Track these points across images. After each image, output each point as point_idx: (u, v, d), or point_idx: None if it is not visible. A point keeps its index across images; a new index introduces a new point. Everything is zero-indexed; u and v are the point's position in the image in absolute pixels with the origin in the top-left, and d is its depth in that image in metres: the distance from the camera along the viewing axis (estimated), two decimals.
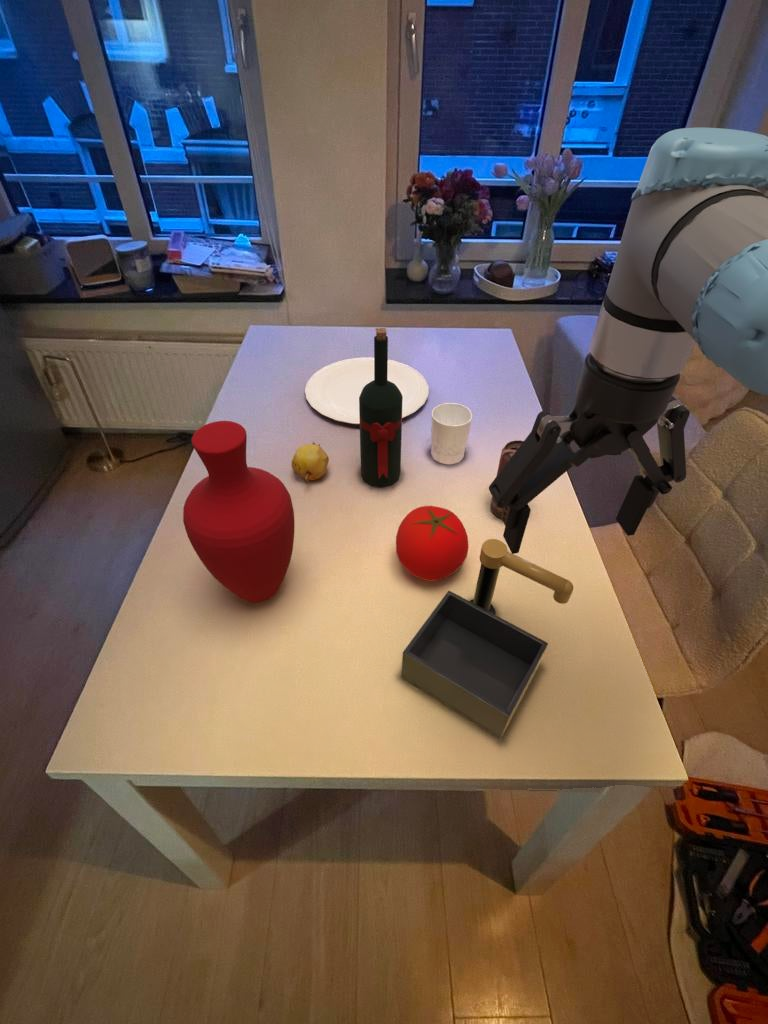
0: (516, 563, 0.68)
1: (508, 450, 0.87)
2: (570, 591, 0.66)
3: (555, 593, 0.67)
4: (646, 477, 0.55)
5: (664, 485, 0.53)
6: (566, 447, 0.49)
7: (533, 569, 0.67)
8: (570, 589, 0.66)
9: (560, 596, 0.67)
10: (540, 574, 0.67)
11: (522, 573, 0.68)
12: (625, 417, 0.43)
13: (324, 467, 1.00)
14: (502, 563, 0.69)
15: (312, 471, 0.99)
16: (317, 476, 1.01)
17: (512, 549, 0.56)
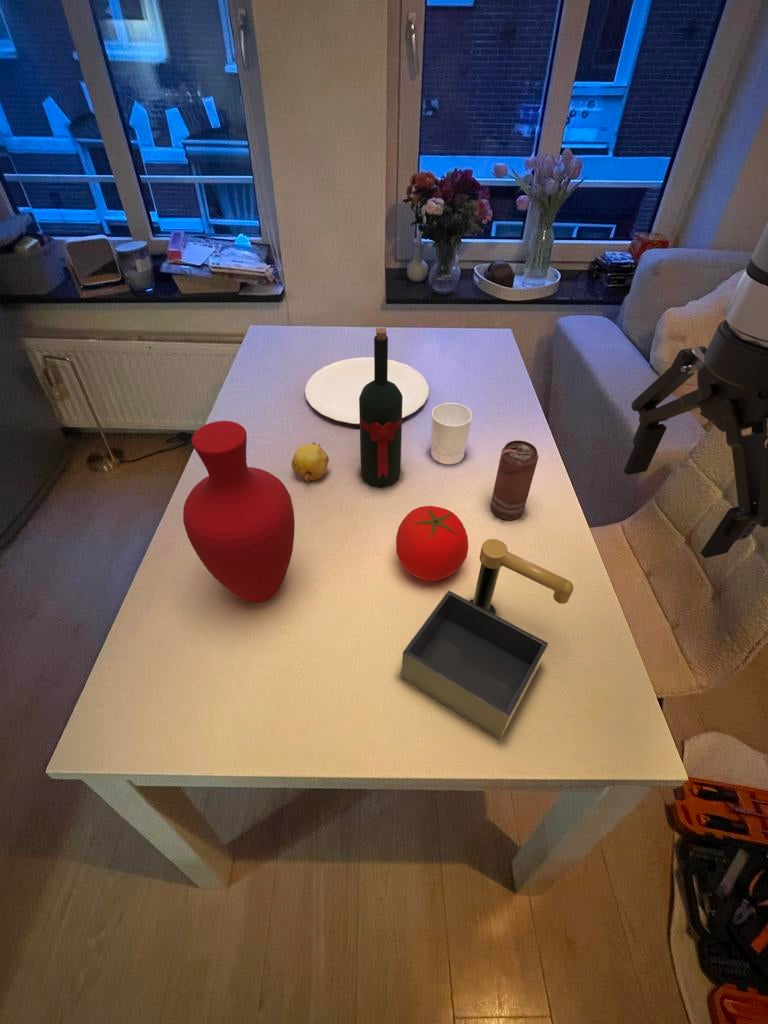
0: (516, 563, 0.68)
1: (508, 450, 0.87)
2: (570, 591, 0.66)
3: (555, 593, 0.67)
4: None
5: (744, 512, 0.49)
6: None
7: (533, 569, 0.67)
8: (570, 589, 0.66)
9: (560, 596, 0.67)
10: (540, 574, 0.67)
11: (522, 573, 0.68)
12: (706, 359, 0.47)
13: (324, 467, 1.00)
14: (502, 563, 0.69)
15: (312, 471, 0.99)
16: (317, 476, 1.01)
17: (626, 467, 0.64)
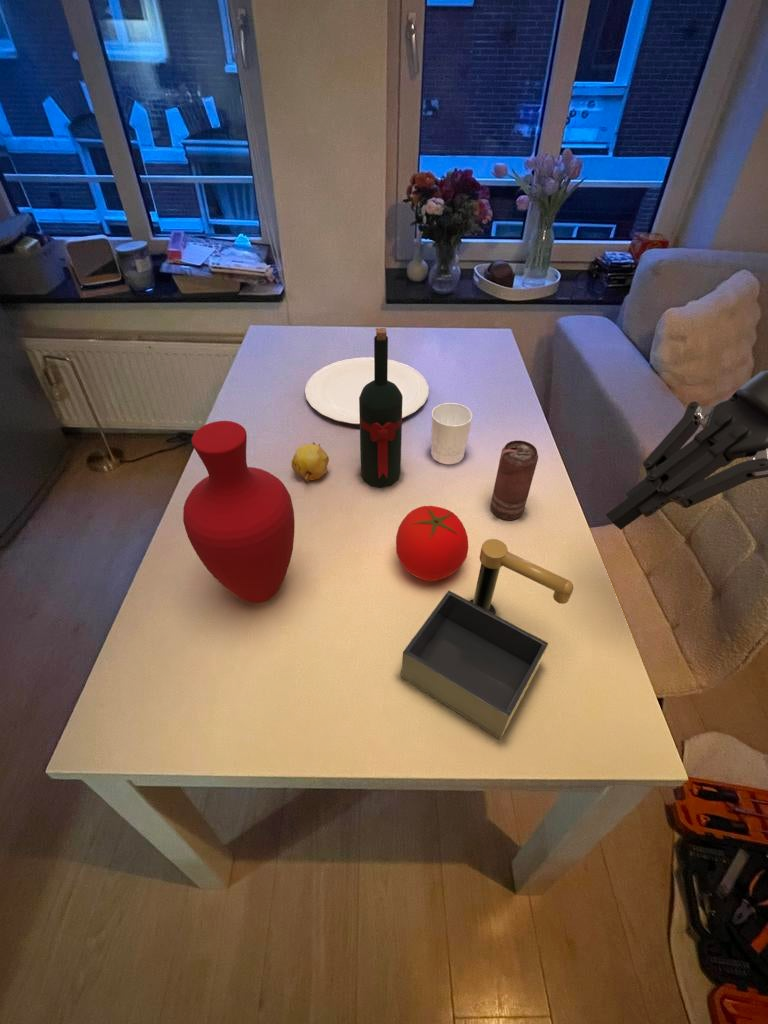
0: (516, 563, 0.68)
1: (508, 450, 0.87)
2: (570, 591, 0.66)
3: (555, 593, 0.67)
4: None
5: (665, 489, 0.63)
6: None
7: (533, 569, 0.67)
8: (570, 589, 0.66)
9: (560, 596, 0.67)
10: (540, 574, 0.67)
11: (522, 573, 0.68)
12: (747, 388, 0.59)
13: (324, 467, 1.00)
14: (502, 563, 0.69)
15: (312, 471, 0.99)
16: (317, 476, 1.01)
17: (609, 512, 0.67)
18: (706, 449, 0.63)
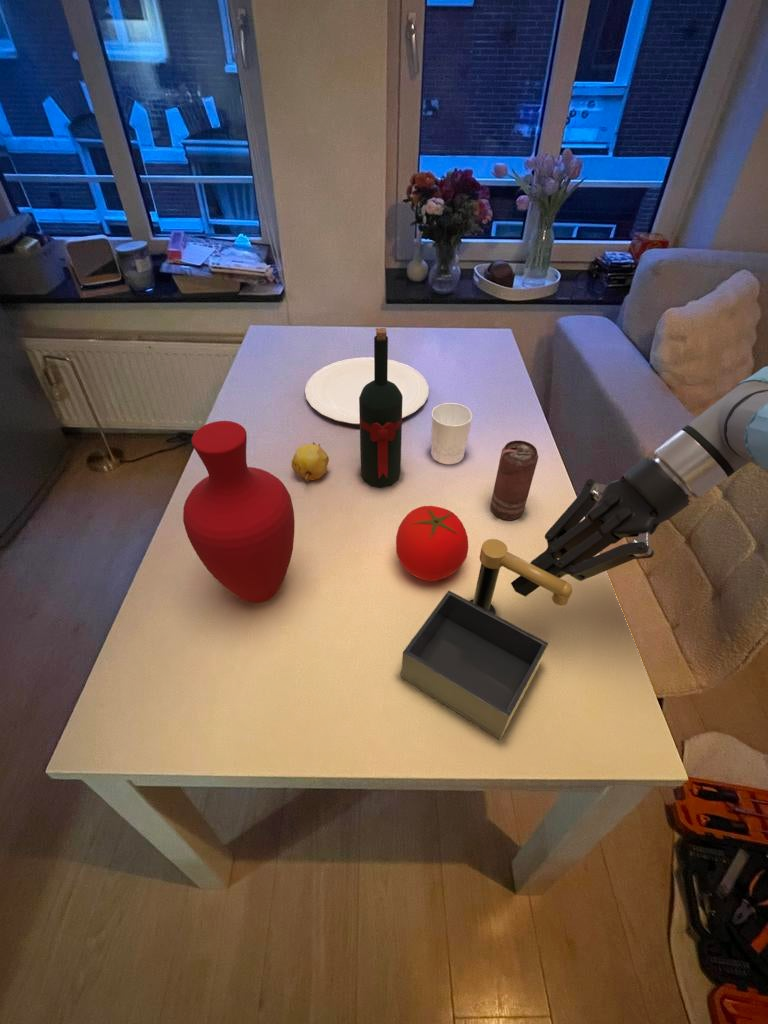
0: (515, 564, 0.68)
1: (508, 450, 0.87)
2: (569, 593, 0.65)
3: (554, 595, 0.67)
4: None
5: (560, 563, 0.67)
6: None
7: (532, 570, 0.67)
8: (569, 591, 0.65)
9: (559, 598, 0.66)
10: (539, 575, 0.67)
11: (521, 574, 0.68)
12: (630, 474, 0.63)
13: (324, 467, 1.00)
14: (501, 564, 0.69)
15: (312, 471, 0.99)
16: (317, 476, 1.01)
17: (514, 581, 0.71)
18: (599, 525, 0.67)
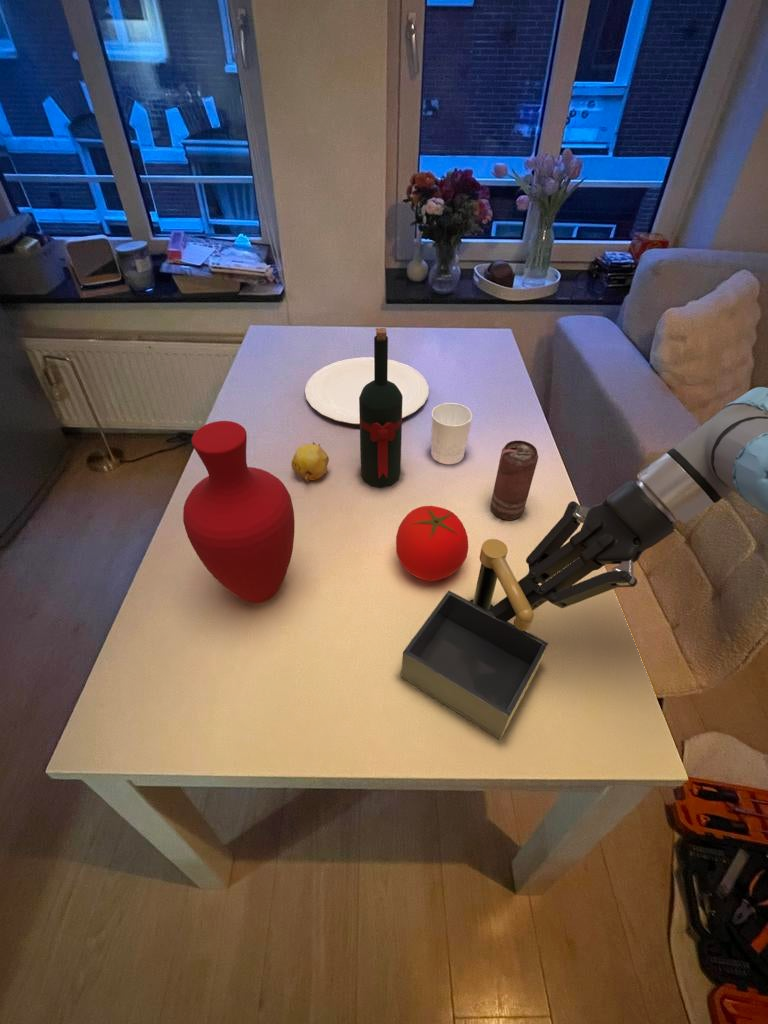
0: (500, 570, 0.67)
1: (508, 450, 0.87)
2: (525, 619, 0.63)
3: (516, 615, 0.65)
4: None
5: (541, 590, 0.65)
6: None
7: (509, 582, 0.66)
8: (525, 617, 0.63)
9: (516, 619, 0.64)
10: (511, 589, 0.65)
11: (500, 581, 0.67)
12: (613, 498, 0.60)
13: (324, 467, 1.00)
14: (491, 564, 0.69)
15: (312, 471, 0.99)
16: (317, 476, 1.01)
17: (494, 606, 0.69)
18: (582, 550, 0.65)
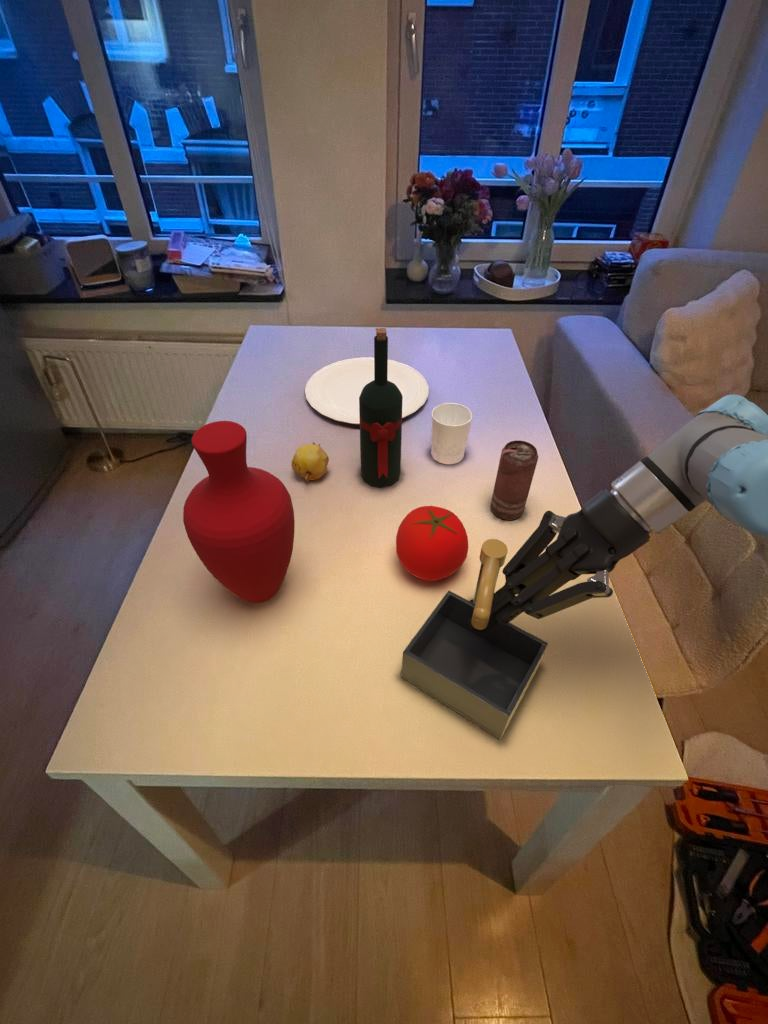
0: (485, 567, 0.68)
1: (508, 450, 0.87)
2: (477, 616, 0.63)
3: None
4: None
5: (517, 601, 0.63)
6: None
7: (485, 580, 0.66)
8: (478, 614, 0.63)
9: None
10: (482, 587, 0.65)
11: None
12: (587, 507, 0.59)
13: (324, 467, 1.00)
14: (484, 561, 0.70)
15: (312, 471, 0.99)
16: (317, 476, 1.01)
17: (471, 618, 0.67)
18: (558, 561, 0.64)
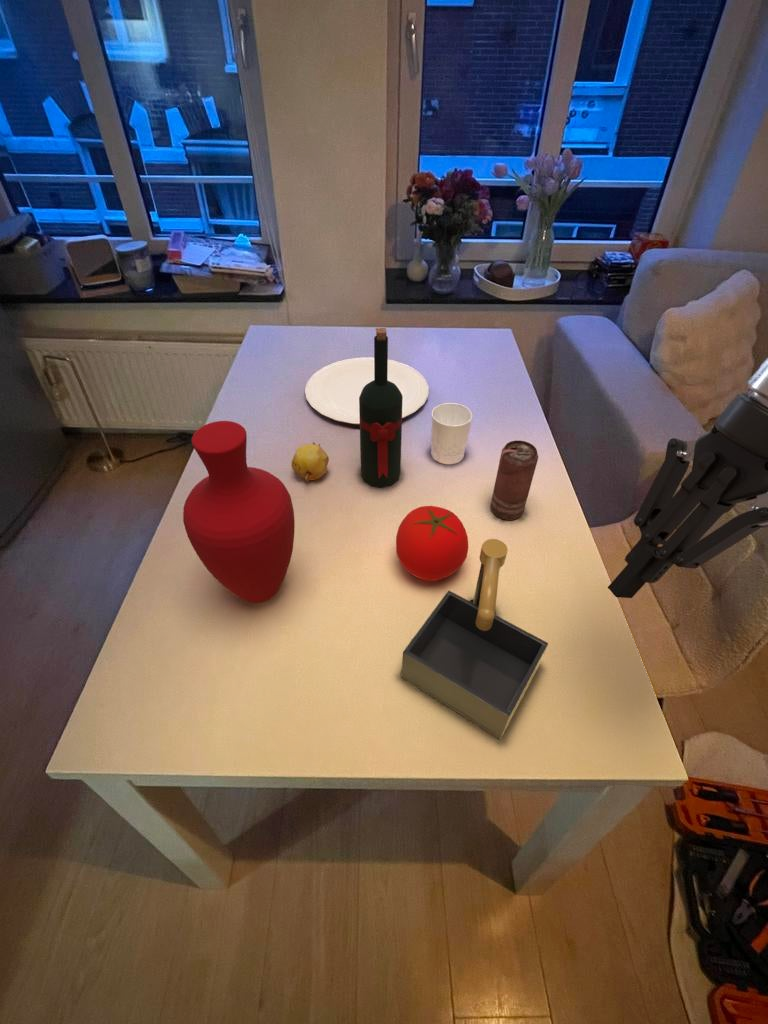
0: (487, 568, 0.68)
1: (508, 450, 0.87)
2: (481, 617, 0.63)
3: None
4: None
5: (662, 554, 0.53)
6: None
7: (487, 581, 0.66)
8: (482, 615, 0.63)
9: (477, 616, 0.64)
10: (485, 587, 0.65)
11: None
12: (722, 423, 0.48)
13: (324, 467, 1.00)
14: (484, 561, 0.69)
15: (312, 471, 0.99)
16: (317, 476, 1.01)
17: None
18: (701, 494, 0.53)
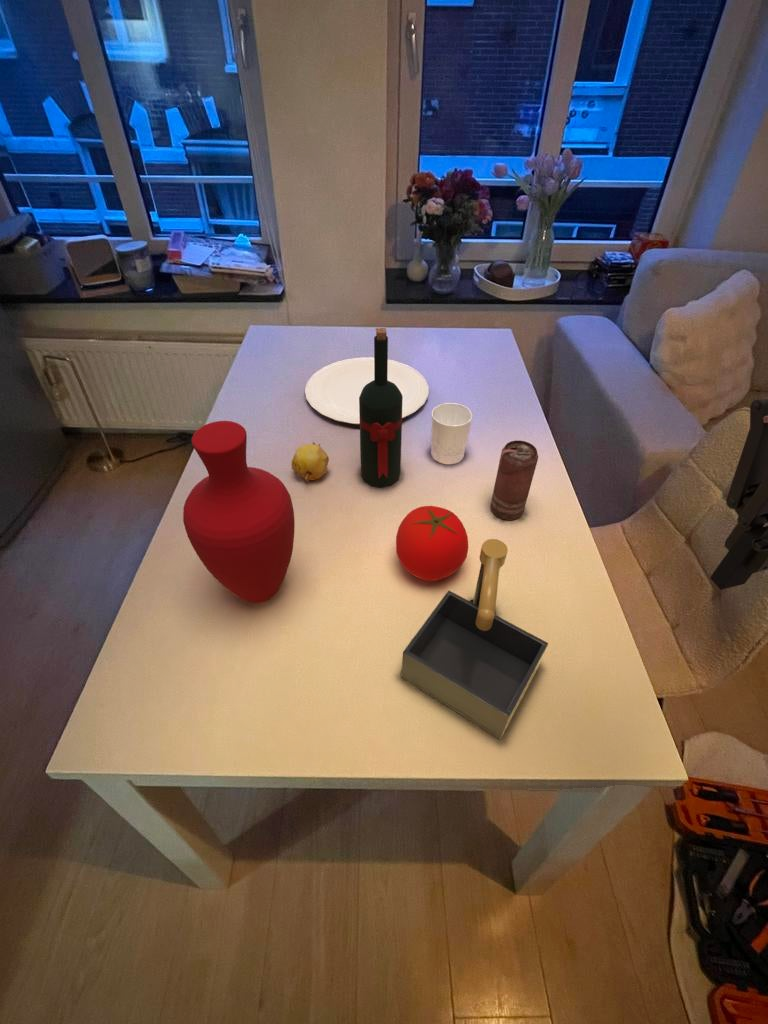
0: (487, 568, 0.68)
1: (508, 450, 0.87)
2: (481, 617, 0.63)
3: None
4: None
5: (765, 544, 0.44)
6: None
7: (487, 581, 0.66)
8: (482, 615, 0.63)
9: (477, 616, 0.64)
10: (485, 587, 0.65)
11: None
12: None
13: (324, 467, 1.00)
14: (484, 561, 0.69)
15: (312, 471, 0.99)
16: (317, 476, 1.01)
17: (713, 574, 0.50)
18: None
